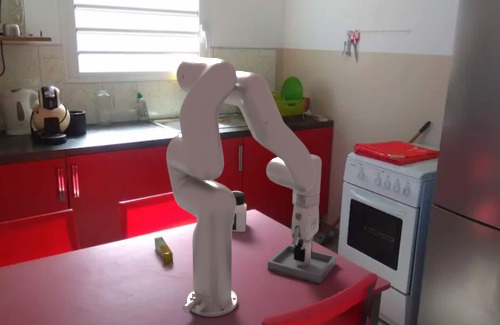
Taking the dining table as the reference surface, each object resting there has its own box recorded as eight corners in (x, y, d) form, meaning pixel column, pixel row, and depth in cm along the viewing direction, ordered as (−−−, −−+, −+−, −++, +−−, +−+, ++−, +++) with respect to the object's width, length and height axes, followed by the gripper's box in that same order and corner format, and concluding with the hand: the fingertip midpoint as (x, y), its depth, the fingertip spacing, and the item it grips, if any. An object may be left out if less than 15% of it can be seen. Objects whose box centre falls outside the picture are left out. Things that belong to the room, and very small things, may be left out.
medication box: (154, 249, 142) (153, 237, 141) (163, 247, 143) (162, 236, 142) (164, 266, 132) (164, 253, 131) (173, 264, 133) (173, 252, 132)
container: (245, 232, 156) (246, 196, 153) (223, 231, 156) (223, 196, 153) (246, 223, 163) (246, 189, 160) (225, 223, 164) (225, 189, 160)
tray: (319, 284, 123) (320, 276, 122) (267, 269, 130) (268, 261, 130) (336, 264, 134) (336, 256, 134) (287, 251, 142) (287, 244, 141)
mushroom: (307, 267, 129) (308, 241, 127) (291, 262, 131) (292, 237, 129) (313, 260, 133) (315, 235, 131) (298, 256, 135) (299, 231, 133)
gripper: (306, 209, 118) (303, 272, 123) (328, 192, 132) (325, 249, 137) (281, 204, 122) (278, 265, 126) (305, 188, 136) (302, 243, 141)
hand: (302, 256), depth 132 cm, fingers closed on mushroom, 4 cm apart
